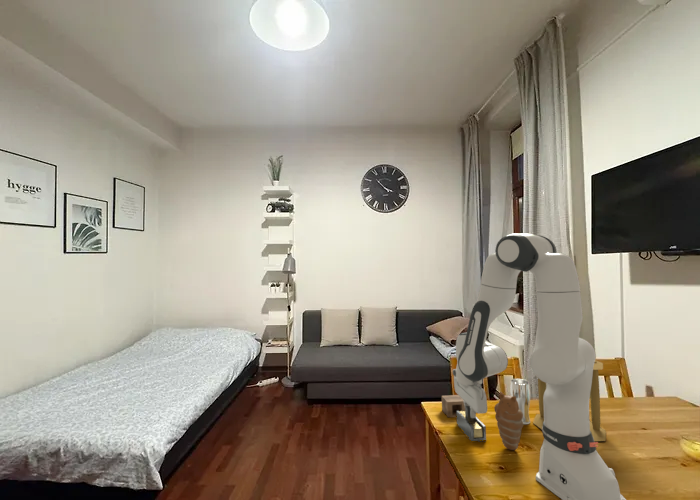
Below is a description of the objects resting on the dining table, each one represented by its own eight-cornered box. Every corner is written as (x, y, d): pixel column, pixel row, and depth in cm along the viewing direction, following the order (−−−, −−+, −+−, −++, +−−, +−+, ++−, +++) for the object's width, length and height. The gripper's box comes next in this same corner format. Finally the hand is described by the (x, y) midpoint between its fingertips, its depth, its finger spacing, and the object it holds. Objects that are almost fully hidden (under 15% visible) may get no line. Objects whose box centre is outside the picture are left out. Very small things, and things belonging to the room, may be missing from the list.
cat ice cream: (491, 448, 113) (490, 393, 114) (503, 440, 118) (501, 387, 119) (519, 459, 106) (517, 401, 107) (529, 450, 111) (527, 394, 112)
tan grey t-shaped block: (482, 437, 118) (481, 414, 118) (474, 437, 118) (473, 414, 118) (465, 418, 132) (465, 398, 132) (458, 419, 132) (457, 398, 132)
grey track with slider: (486, 441, 118) (485, 426, 118) (471, 441, 117) (471, 427, 118) (470, 423, 131) (469, 410, 131) (456, 424, 130) (456, 410, 131)
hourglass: (539, 438, 119) (537, 365, 120) (527, 411, 141) (524, 350, 142) (620, 448, 112) (616, 370, 113) (594, 418, 134) (591, 353, 135)
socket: (467, 416, 137) (466, 401, 137) (447, 417, 136) (447, 402, 136) (460, 409, 143) (460, 394, 144) (442, 410, 143) (441, 395, 143)
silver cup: (535, 425, 129) (533, 384, 129) (516, 425, 129) (515, 384, 129) (525, 416, 136) (524, 378, 136) (508, 416, 136) (506, 378, 136)
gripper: (491, 386, 115) (492, 428, 114) (466, 367, 135) (467, 403, 134) (473, 387, 114) (474, 429, 114) (450, 368, 135) (451, 404, 134)
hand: (470, 415), depth 124 cm, fingers closed on tan grey t-shaped block, 2 cm apart
